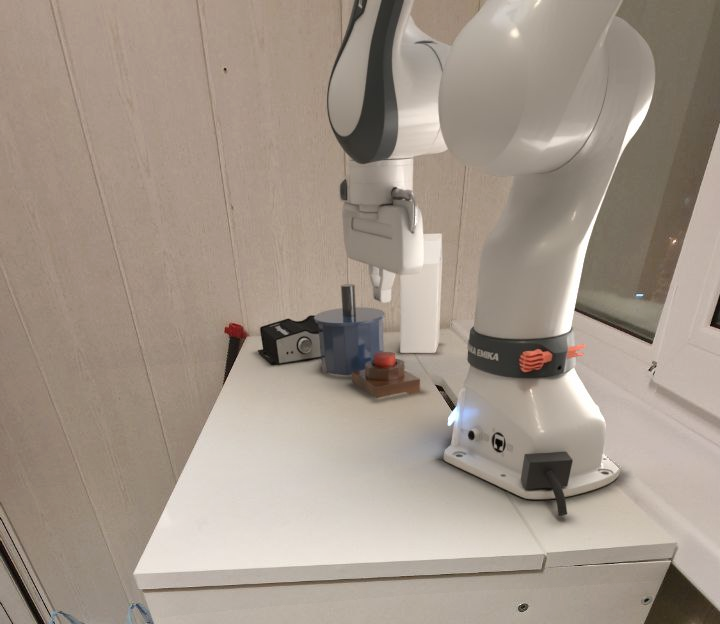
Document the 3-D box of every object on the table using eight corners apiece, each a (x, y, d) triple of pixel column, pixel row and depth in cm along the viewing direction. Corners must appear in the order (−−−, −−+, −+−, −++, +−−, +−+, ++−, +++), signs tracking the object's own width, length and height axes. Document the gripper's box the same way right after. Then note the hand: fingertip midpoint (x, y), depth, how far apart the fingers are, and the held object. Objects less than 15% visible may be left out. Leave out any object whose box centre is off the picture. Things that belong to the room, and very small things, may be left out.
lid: (396, 323, 97) (396, 285, 93) (330, 334, 93) (327, 295, 90) (367, 311, 106) (365, 276, 102) (305, 320, 102) (301, 284, 98)
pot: (394, 371, 102) (393, 319, 97) (336, 382, 99) (332, 328, 93) (368, 356, 110) (366, 308, 105) (313, 366, 107) (309, 316, 101)
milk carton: (435, 353, 110) (440, 235, 97) (399, 353, 111) (399, 237, 98) (438, 344, 115) (443, 231, 102) (404, 344, 116) (405, 232, 104)
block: (419, 392, 92) (420, 366, 90) (376, 401, 90) (375, 375, 88) (393, 377, 99) (392, 353, 97) (352, 385, 97) (351, 360, 95)
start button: (399, 366, 92) (399, 355, 90) (379, 370, 91) (379, 358, 90) (389, 361, 94) (389, 350, 93) (370, 365, 93) (370, 353, 92)
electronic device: (252, 323, 114) (343, 310, 119) (257, 352, 117) (344, 338, 122) (269, 336, 104) (366, 322, 109) (273, 367, 108) (368, 352, 113)
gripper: (438, 188, 71) (432, 311, 80) (371, 182, 85) (373, 287, 94) (394, 191, 69) (393, 316, 78) (333, 185, 83) (339, 292, 93)
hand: (382, 300), depth 87 cm, fingers closed
